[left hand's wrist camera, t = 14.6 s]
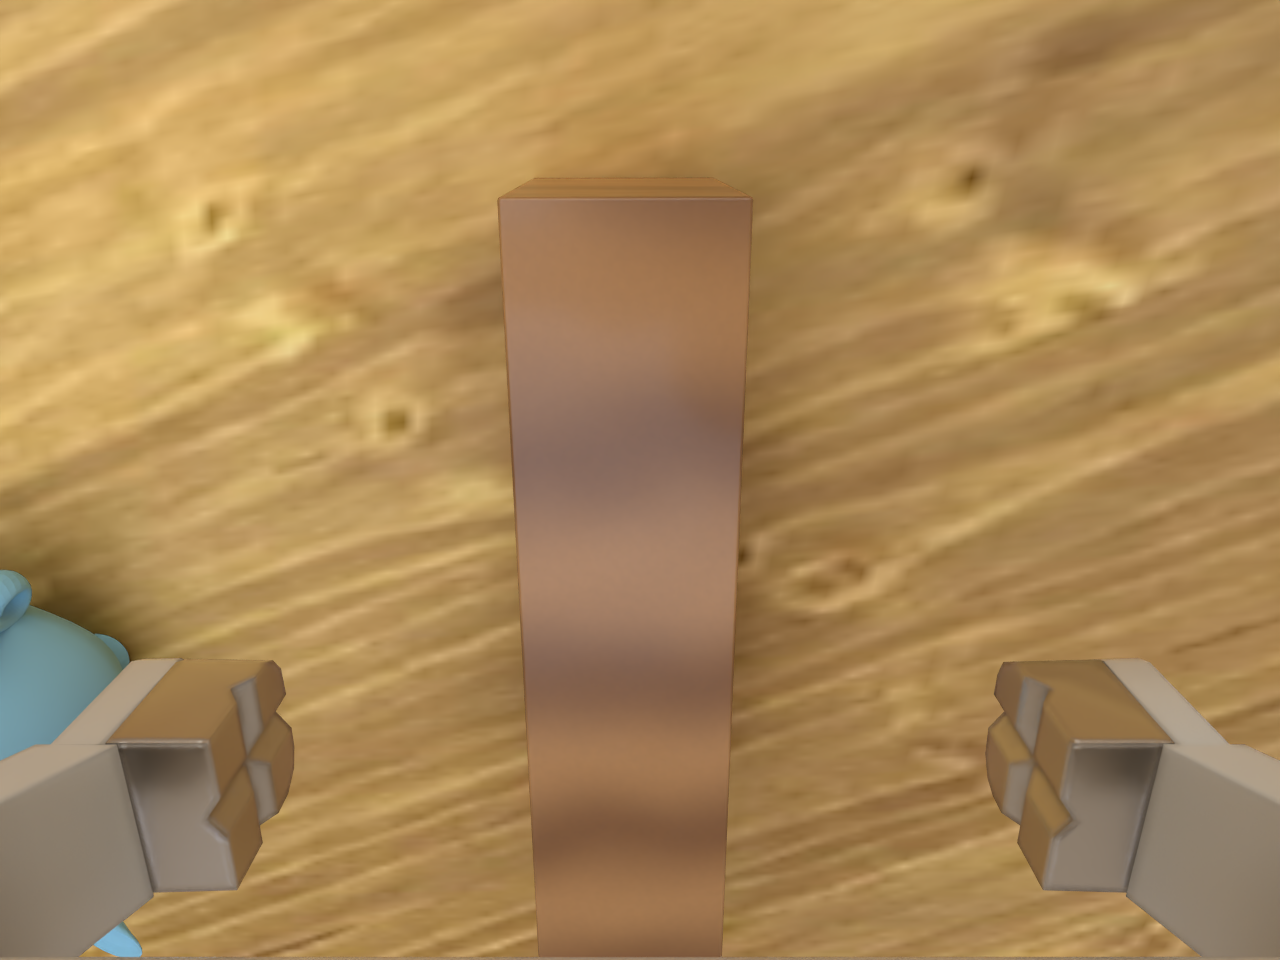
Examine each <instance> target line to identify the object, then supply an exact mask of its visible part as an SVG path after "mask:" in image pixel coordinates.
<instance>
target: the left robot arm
mask: <svg viewBox="0 0 1280 960" xmlns="http://www.w3.org/2000/svg"><path fill="white" fill-rule="evenodd" d="M285 695H286V692H285V687H284V682H283V677H282V672H281V668H280V667H279V666H278V665H277V664H276V663H275V662H274V661H273V660H222V659H185V660H184V659H181V658H161V659H140V660H135V661H131V662H130V663H129V664H128V665H127V666H126V667H125V668H124V669H123V670H122V671H121V673H120V674H119V675H118V676H117V677H116V678H115V679H114V680H113V681H112V682H111V683H110V684H109V685H108V686H107V687H106V688H105V689H104V690H103V691H102V692H101V693H100V694H99V695H98V696H97V697H96V698H95V699H94V700H93V701H92V702H91V703H90V704H89V705H88V706H87V707H86V708H85V709H84V711H83V712H82V713H81V714H80V715H79V716H78V717H77V718H76V719H75V720H74V721H73V722H72V723H71V724H70V725H69V726H68V727H67V728H66V729H65V730H64V731H63V732H62V733H61V734H60V735H59V736H58V737H57V738H56V739H55V740H54V741H53V742H52V743H51V744H36V745H33V746H31V747H29V748H27V749H25V750H22V751H20V752H18V753H16V754H14V755H11V756H9V757H7V758H5V759H3V760H0V960H1280V761H1279V760H1277V759H1275V758H1273V757H1271V756H1269V755H1266V754H1264V753H1262V752H1260V751H1258V750H1255V749H1253V748H1251V747H1249V746H1247V745H1245V744H1229V743H1228V742H1227V741H1226V740H1225V739H1224V738H1223V737H1222V736H1221V735H1220V734H1219V733H1218V732H1217V731H1216V730H1215V729H1214V728H1213V727H1212V726H1211V725H1210V724H1209V723H1208V722H1207V721H1206V720H1205V719H1204V718H1203V717H1202V716H1201V714H1200V713H1199V712H1198V711H1197V710H1196V709H1195V708H1194V707H1193V706H1192V705H1191V704H1190V703H1189V702H1188V701H1187V700H1186V699H1185V698H1184V697H1183V696H1182V695H1181V694H1180V693H1179V692H1178V691H1177V690H1176V689H1175V688H1174V687H1173V686H1172V685H1171V684H1170V683H1169V682H1168V681H1167V679H1166V678H1165V677H1164V676H1163V675H1162V674H1161V673H1160V672H1159V671H1158V670H1157V669H1156V668H1155V667H1154V666H1153V665H1152V664H1151V663H1150V662H1147V661H1145V660H1142V659H1140V658H1120V659H1094V660H1061V661H1021V662H1003V664H1002V666H1001V668H1000V671H999V673H998V675H997V680H996V686H995V692H994V695H995V697H996V698H997V700H998V701H999V703H1000V705H1001V706H1002V708H1003V710H1004V713H1003V714H1002V715H1001V716H1000V717H999V718H998V719H997V720H996V721H995V722H994V723H993V724H992V725H991V726H990V727H989V728H988V736H987V744H986V752H985V755H986V766H987V777H988V781H989V784H990V788H991V791H992V794H993V797H994V799H995V801H996V803H997V805H998V807H999V809H1000V811H1001V813H1003V814H1004V815H1006V816H1007V817H1009V818H1010V819H1012V820H1013V821H1015V822H1016V823H1018V824H1019V825H1020V831H1019V836H1018V842H1017V843H1018V845H1019V847H1020V848H1021V850H1022V852H1023V854H1024V856H1025V858H1026V859H1027V861H1028V863H1029V865H1030V867H1031V869H1032V871H1033V872H1034V874H1035V876H1036V878H1037V880H1038V882H1039V884H1040V885H1041V887H1042V889H1043V890H1056V891H1092V892H1127V894H1126V897H1128V898H1129V899H1130V900H1131V901H1133V902H1134V903H1135V904H1136V905H1138V906H1139V907H1140V908H1141V909H1143V910H1144V911H1145V912H1146V913H1148V914H1149V915H1150V916H1151V917H1153V918H1154V919H1155V920H1156V921H1158V922H1159V923H1160V924H1162V925H1163V926H1164V927H1165V928H1167V929H1168V930H1169V931H1170V932H1172V933H1173V934H1174V935H1175V936H1177V937H1178V938H1179V939H1180V940H1182V941H1183V942H1184V943H1185V944H1187V945H1188V946H1189V947H1190V948H1192V949H1193V950H1194V951H1195V952H1197V953H1198V954H1199V955H1200V956H1202V957H79V956H80V955H81V954H82V953H84V952H85V951H86V950H87V949H89V948H90V947H91V946H92V945H94V944H95V943H96V942H97V941H99V940H100V939H101V938H103V937H104V936H105V935H106V934H108V933H109V932H110V931H111V930H113V929H114V928H115V927H116V926H118V925H119V924H120V923H121V922H123V921H124V920H125V919H126V918H128V917H129V916H130V915H131V914H133V913H134V912H135V911H136V910H138V909H139V908H140V907H141V906H143V905H144V904H145V903H146V902H148V901H149V900H150V899H151V898H153V896H154V894H153V892H186V891H222V890H237V889H238V887H239V886H240V884H241V882H242V880H243V878H244V876H245V874H246V873H247V871H248V869H249V867H250V865H251V863H252V861H253V860H254V858H255V856H256V854H257V852H258V850H259V848H260V847H261V845H262V843H263V842H262V836H261V831H260V825H261V824H262V823H264V822H265V821H267V820H268V819H270V818H271V817H273V816H274V815H276V814H277V813H279V811H280V809H281V807H282V805H283V803H284V801H285V799H286V797H287V795H288V792H289V787H290V783H291V779H292V774H293V770H294V742H293V735H292V728H291V727H290V726H289V725H288V724H287V723H286V722H285V721H284V720H283V719H282V718H281V717H280V716H279V715H278V714H277V713H276V710H277V708H278V706H279V705H280V703H281V701H282V700H283V698H284V697H285Z"/></svg>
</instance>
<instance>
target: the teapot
mask: <svg viewBox="0 0 1280 960" xmlns="http://www.w3.org/2000/svg"><path fill="white" fill-rule="evenodd" d="M31 597H32V589H31V585H30V583H29V582H28V581H27V579H26V578H25V577H23V576H22V575H21V574H19V573H17V572H15V571H10V570H0V760H3V759H5V758H7V757H9V756H11V755H14V754H16V753H18V752H20V751H22V750H25V749H27V748H29V747H31V746H33V745H36V744H51V743H52V742H53V741H54V740H55V739H56V738H57V737H58V736H59V735H60V734H61V733H62V732H63V731H64V730H65V729H66V728H67V727H68V726H69V725H70V724H71V723H72V722H73V721H74V720H75V719H76V718H77V717H78V716H79V715H80V714H81V713H82V712H83V711H84V709H85V708H86V707H87V706H88V705H89V704H90V703H91V702H92V701H93V700H94V699H95V698H96V697H97V696H98V695H99V694H100V693H101V692H102V691H103V690H104V689H105V688H106V687H107V686H108V685H109V684H110V683H111V682H112V681H113V680H114V679H115V678H116V677H117V676H118V675H119V674H120V673H121V671H122V670H123V669H124V668H125V667H126V666H127V665H128V664H129V655H128V653H127V651H126V649H125V648H124V646H123V645H122V644H121V643H120V642H118V641H117V640H116V639H114V638H112V637H110V636H107V635H103V634H93V633H91V632H90V631H88V630H86V629H84V628H82V627H80V626H79V625H77V624H75V623H73V622H71V621H68V620H66V619H64V618H61V617H59V616H57V615H54V614H52V613H50V612H47V611H45V610H42V609H39V608H36V607H34V606H31V605H29V604H30V601H31ZM94 945H95V946H96V947H98V948H100V949H101V950H103V951H106V952H108V953H110V954H113V955H116V956H119V957H140V956H141V955H142V948H141V946H140V944H139V942H138V941H137V939H136V938H135V937H134V936H133V935H132V934H131V932H130V931H129V929H128V928H127V926H126V925H125V924H124V922H121V923H120V924H119V925H118V926H116V927H115V928H114V929H113V930H111V931H110V932H109V933H108V934H106V935H105V936H104V937H103V938H101V939H100V940H99V941H97V942H96V943H95V944H94Z"/></svg>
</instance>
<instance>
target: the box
mask: <svg viewBox="0 0 1280 960" xmlns="http://www.w3.org/2000/svg"><path fill="white" fill-rule="evenodd" d="M752 213H753V198H752V197H750V196H748V195H746V194H744V193H742V192H740V191H738V190H736V189H735V188H733V187H731V186H729V185H727V184H725V183H723V182H721V181H719V180H717V179H715V178H534V179H532V180H530V181H528V182H527V183H525V184H523V185H521V186H519V187H518V188H516V189H514V190H512V191H510V192H508V193H507V194H505V195H503V196H501V197H499V198H498V220H499V238H500V256H501V275H502V293H503V311H504V330H505V348H506V366H507V385H508V403H509V421H510V440H511V458H512V476H513V495H514V513H515V531H516V550H517V568H518V586H519V605H520V623H521V642H522V660H523V678H524V697H525V715H526V733H527V752H528V770H529V788H530V807H531V825H532V843H533V862H534V880H535V898H536V917H537V935H538V953H539V957H721V956H722V939H723V915H724V891H725V866H726V842H727V818H728V794H729V770H730V745H731V721H732V697H733V673H734V649H735V624H736V600H737V576H738V552H739V528H740V503H741V479H742V455H743V431H744V407H745V383H746V358H747V334H748V310H749V286H750V262H751V237H752Z"/></svg>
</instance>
